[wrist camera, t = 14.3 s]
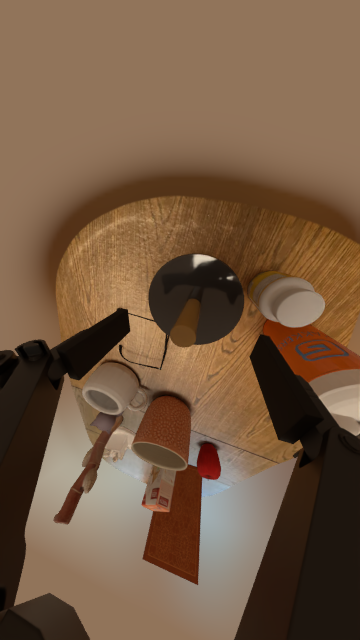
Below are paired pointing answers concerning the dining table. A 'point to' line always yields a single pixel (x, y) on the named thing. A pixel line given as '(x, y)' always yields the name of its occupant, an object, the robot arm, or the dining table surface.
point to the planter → (164, 434)
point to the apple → (208, 462)
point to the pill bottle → (285, 298)
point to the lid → (196, 299)
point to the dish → (119, 443)
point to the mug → (113, 389)
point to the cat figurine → (105, 421)
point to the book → (178, 528)
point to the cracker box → (159, 489)
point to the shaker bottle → (322, 369)
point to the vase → (85, 476)
